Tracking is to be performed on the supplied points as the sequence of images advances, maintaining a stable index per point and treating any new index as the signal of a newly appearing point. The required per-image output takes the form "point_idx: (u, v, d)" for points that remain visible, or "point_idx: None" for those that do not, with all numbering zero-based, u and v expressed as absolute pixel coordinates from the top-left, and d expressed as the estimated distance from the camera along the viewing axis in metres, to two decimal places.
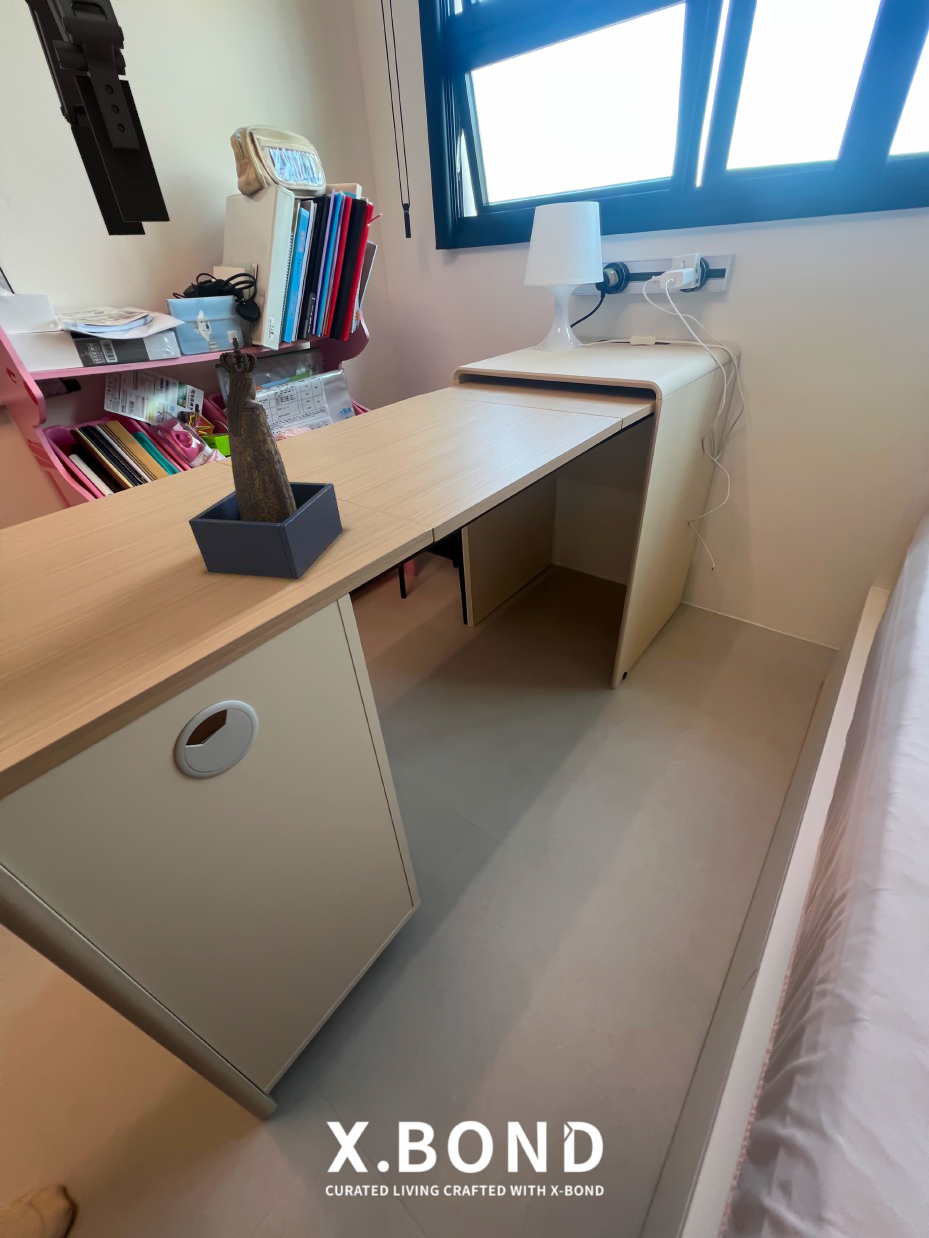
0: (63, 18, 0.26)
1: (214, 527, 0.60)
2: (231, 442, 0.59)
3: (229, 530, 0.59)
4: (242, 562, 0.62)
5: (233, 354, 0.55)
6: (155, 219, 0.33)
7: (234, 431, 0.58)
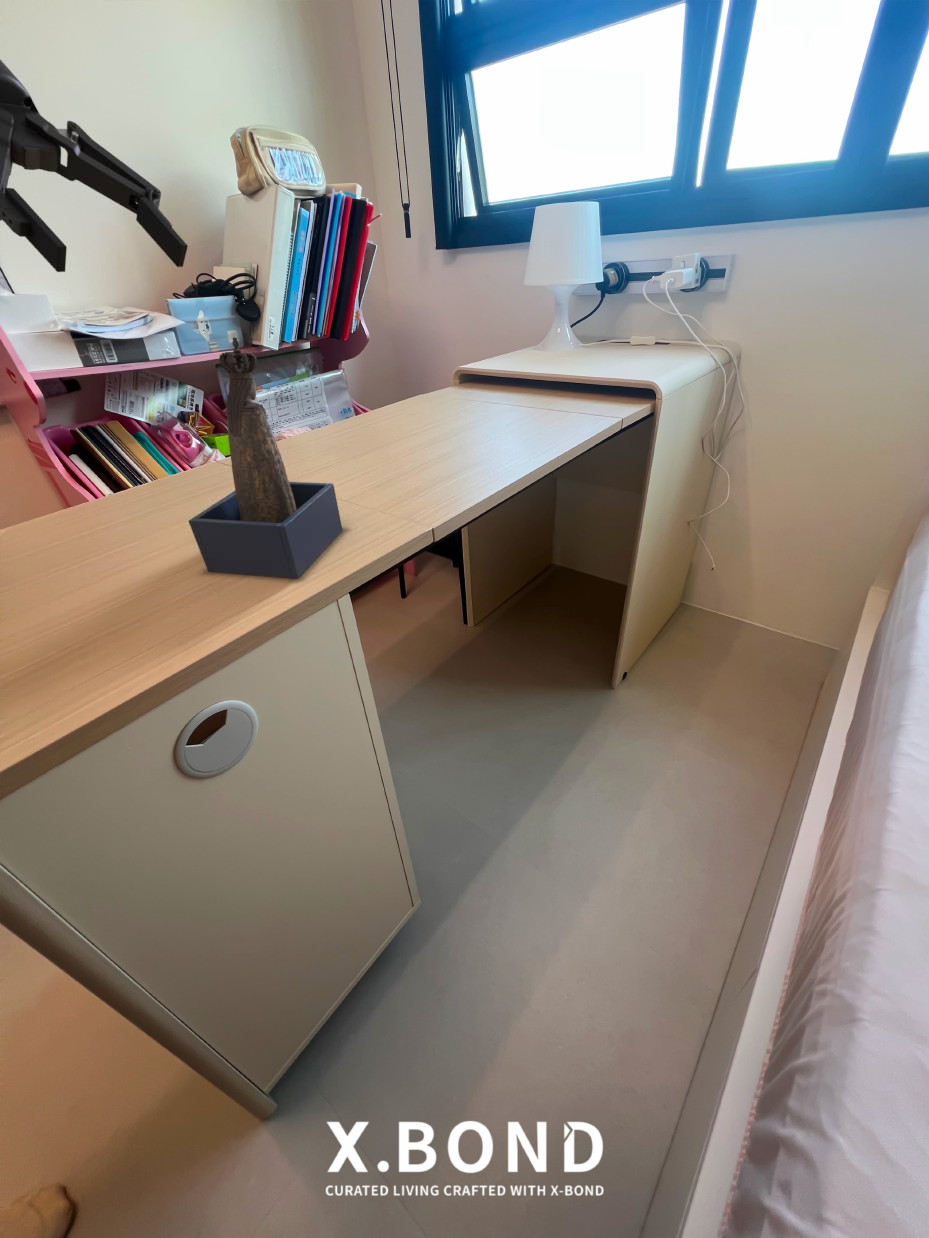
0: (155, 188, 0.58)
1: (214, 527, 0.60)
2: (231, 442, 0.59)
3: (229, 530, 0.59)
4: (242, 562, 0.62)
5: (233, 354, 0.55)
6: (183, 259, 0.59)
7: (234, 431, 0.58)
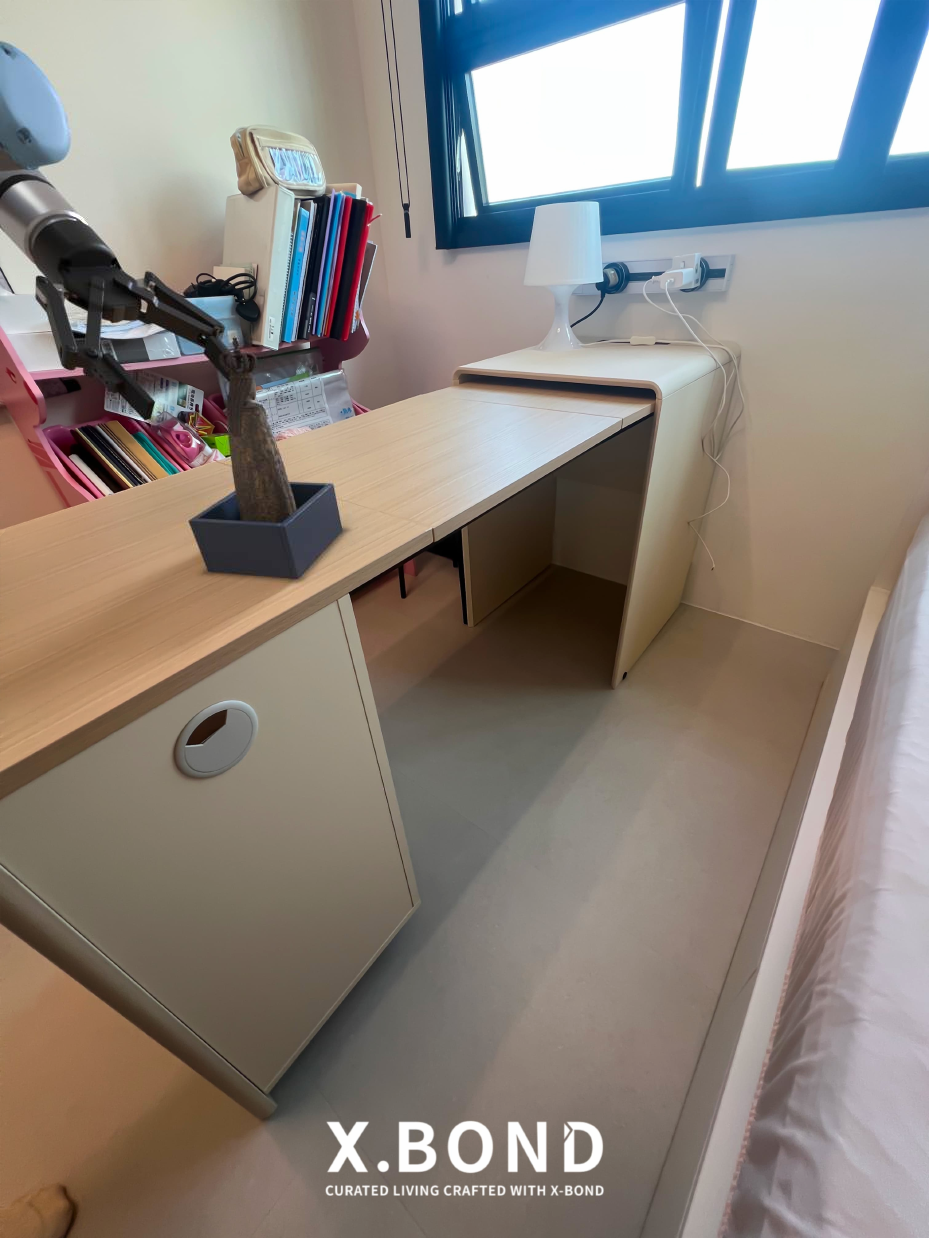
0: (220, 324, 0.65)
1: (214, 527, 0.60)
2: (231, 442, 0.59)
3: (229, 530, 0.59)
4: (242, 562, 0.62)
5: (233, 354, 0.55)
6: None
7: (234, 431, 0.58)
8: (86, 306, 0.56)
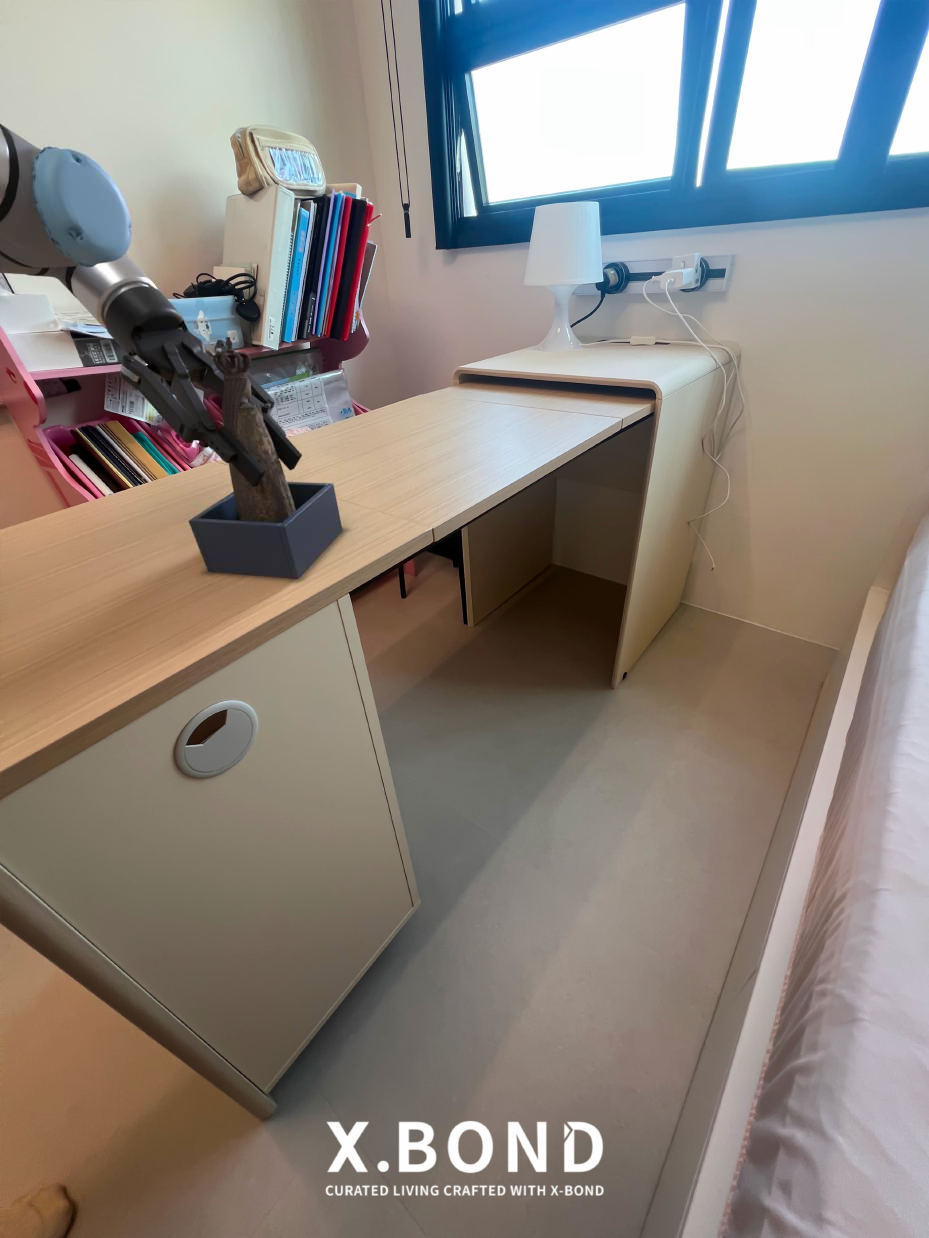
0: (271, 399, 0.62)
1: (214, 527, 0.60)
2: None
3: (229, 530, 0.59)
4: (242, 562, 0.62)
5: (227, 354, 0.54)
6: (296, 464, 0.63)
7: None
8: None
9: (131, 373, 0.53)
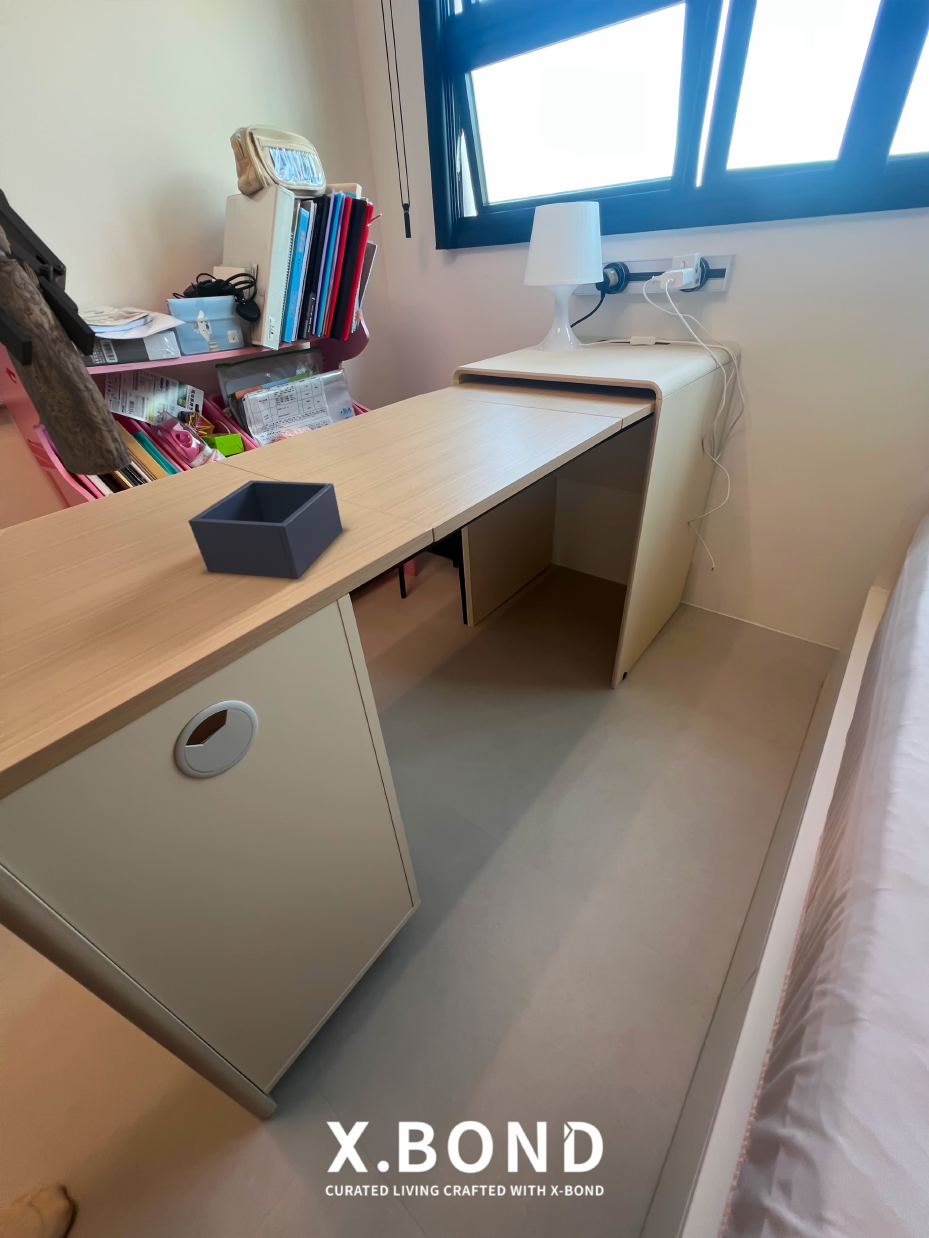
0: (60, 263, 0.49)
1: (214, 527, 0.60)
2: None
3: (229, 530, 0.59)
4: (242, 562, 0.62)
5: None
6: (93, 347, 0.49)
7: None
8: None
9: None
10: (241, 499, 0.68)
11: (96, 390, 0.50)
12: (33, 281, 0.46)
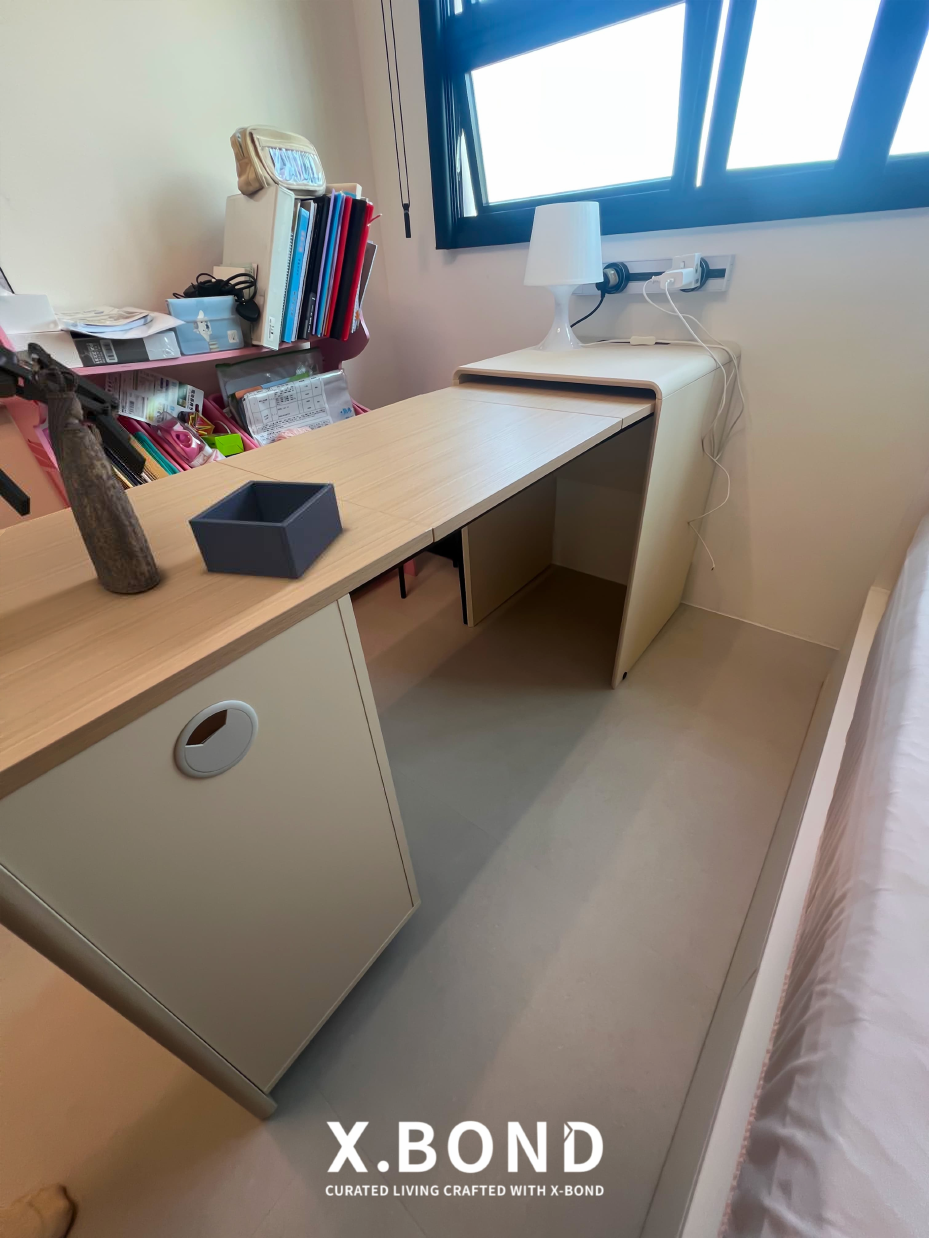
0: (114, 399, 0.58)
1: (214, 527, 0.60)
2: (58, 466, 0.54)
3: (229, 530, 0.59)
4: (242, 562, 0.62)
5: (45, 372, 0.50)
6: (143, 468, 0.59)
7: (57, 455, 0.53)
8: None
9: None
10: (241, 499, 0.68)
11: (137, 523, 0.59)
12: (97, 439, 0.55)
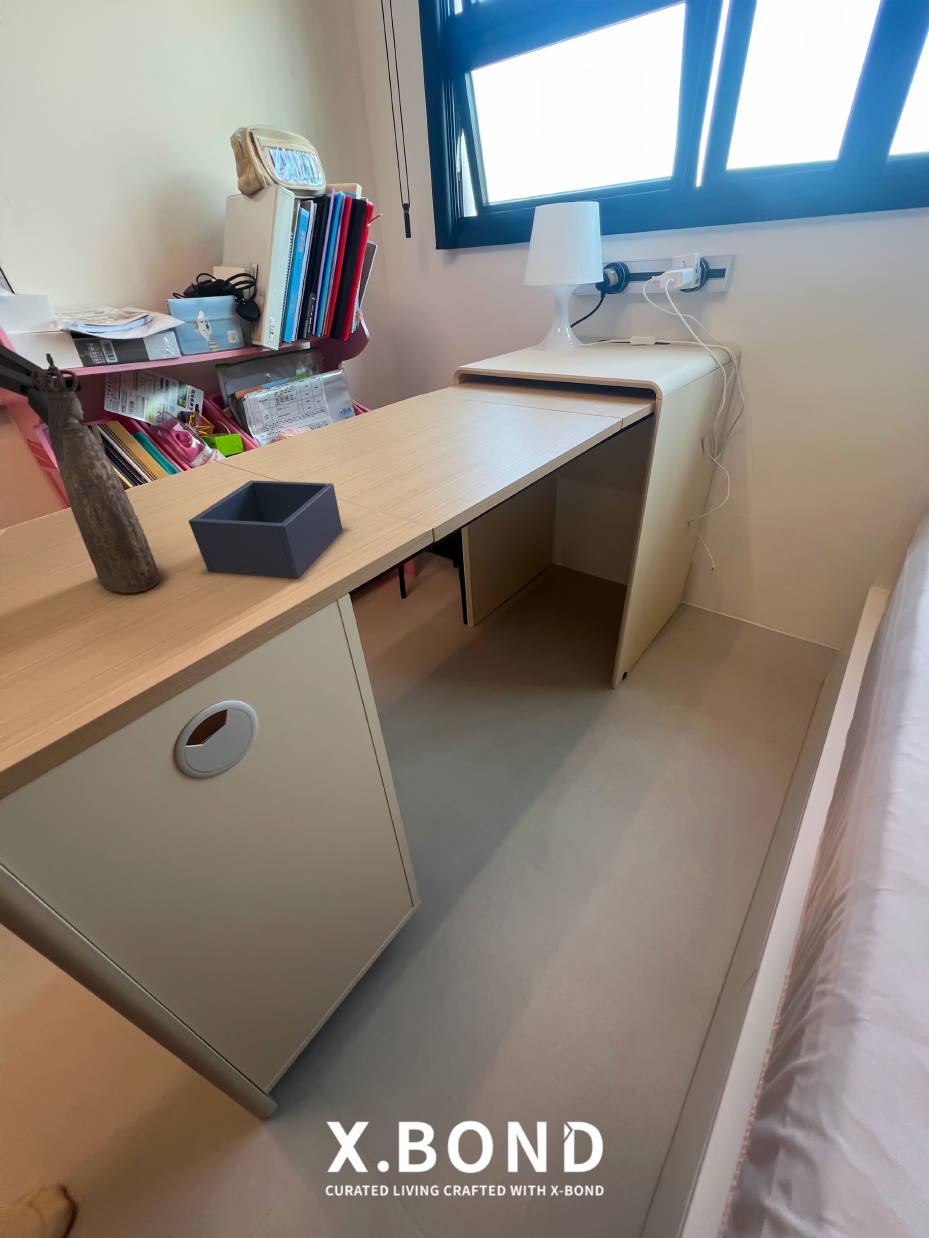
0: None
1: (214, 527, 0.60)
2: (58, 466, 0.54)
3: (229, 530, 0.59)
4: (242, 562, 0.62)
5: (45, 372, 0.50)
6: None
7: (57, 455, 0.53)
8: None
9: None
10: (241, 499, 0.68)
11: (137, 523, 0.59)
12: (97, 439, 0.55)
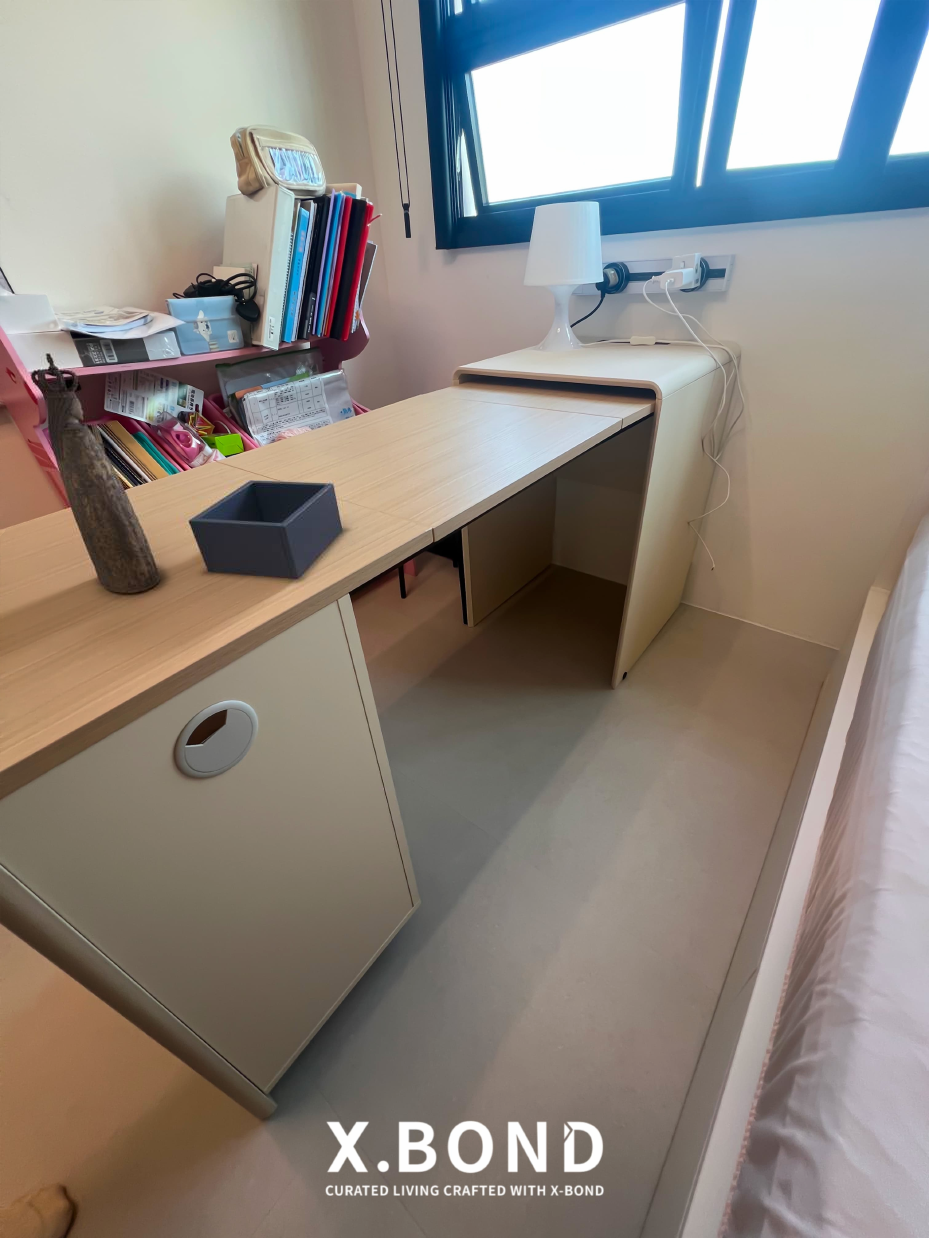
0: None
1: (214, 527, 0.60)
2: (58, 466, 0.54)
3: (229, 530, 0.59)
4: (242, 562, 0.62)
5: (45, 372, 0.50)
6: None
7: (57, 455, 0.53)
8: None
9: None
10: (241, 499, 0.68)
11: (137, 523, 0.59)
12: (97, 439, 0.55)
